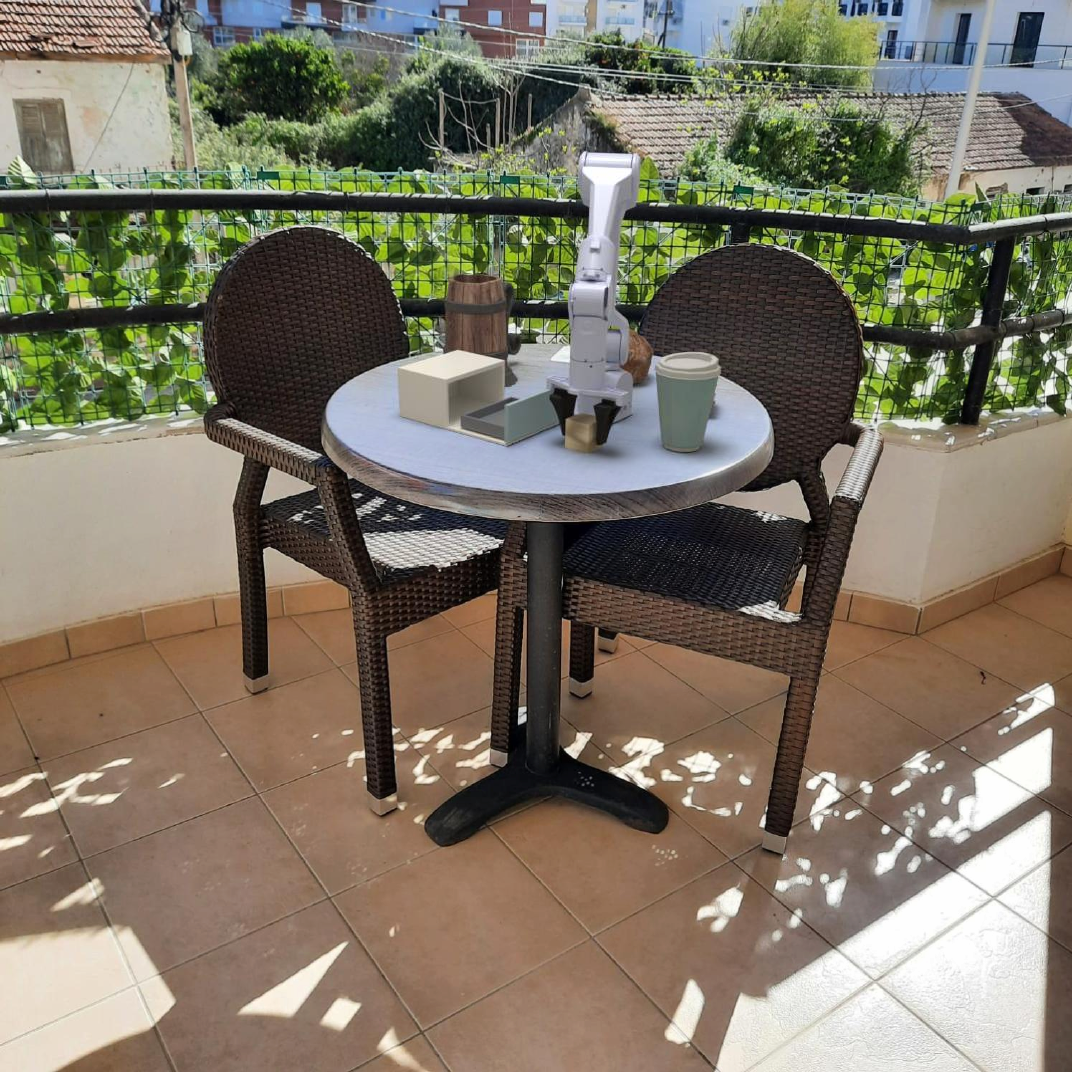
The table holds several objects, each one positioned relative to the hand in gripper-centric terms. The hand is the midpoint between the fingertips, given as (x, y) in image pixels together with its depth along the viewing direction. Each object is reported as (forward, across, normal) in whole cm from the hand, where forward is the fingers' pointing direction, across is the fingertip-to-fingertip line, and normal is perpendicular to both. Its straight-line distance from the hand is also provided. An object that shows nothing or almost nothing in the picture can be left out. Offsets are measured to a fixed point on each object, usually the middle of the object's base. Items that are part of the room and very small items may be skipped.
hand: (584, 438), depth 159 cm
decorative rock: (+2, -16, +38) cm, 41 cm away
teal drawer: (+1, -16, 0) cm, 16 cm away
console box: (+1, -22, 0) cm, 22 cm away
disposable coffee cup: (+2, +12, +11) cm, 16 cm away
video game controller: (+2, +6, +30) cm, 30 cm away
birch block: (+2, 0, 0) cm, 2 cm away
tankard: (+2, -39, +22) cm, 45 cm away
